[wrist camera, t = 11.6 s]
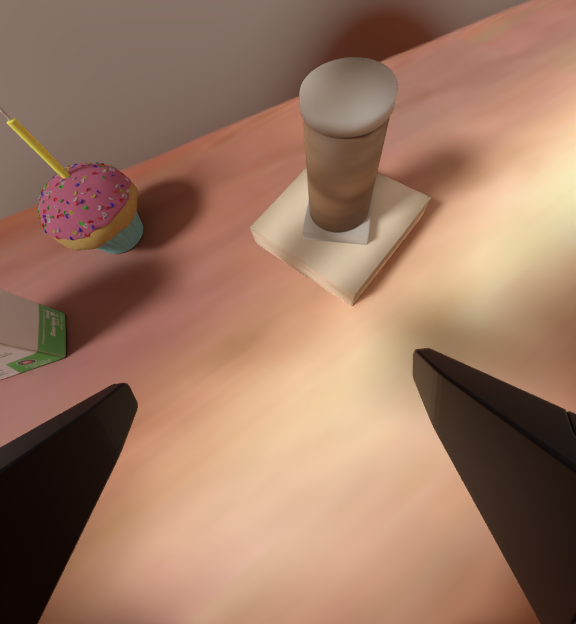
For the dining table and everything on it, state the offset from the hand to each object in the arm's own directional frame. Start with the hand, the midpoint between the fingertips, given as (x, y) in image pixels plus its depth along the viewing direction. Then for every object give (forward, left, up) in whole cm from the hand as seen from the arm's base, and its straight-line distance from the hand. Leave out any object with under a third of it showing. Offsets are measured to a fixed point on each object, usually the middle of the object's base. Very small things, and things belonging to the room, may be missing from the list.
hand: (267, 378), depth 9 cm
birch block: (+7, -14, -14) cm, 21 cm away
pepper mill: (+7, -14, -11) cm, 19 cm away
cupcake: (+25, -1, -14) cm, 29 cm away
